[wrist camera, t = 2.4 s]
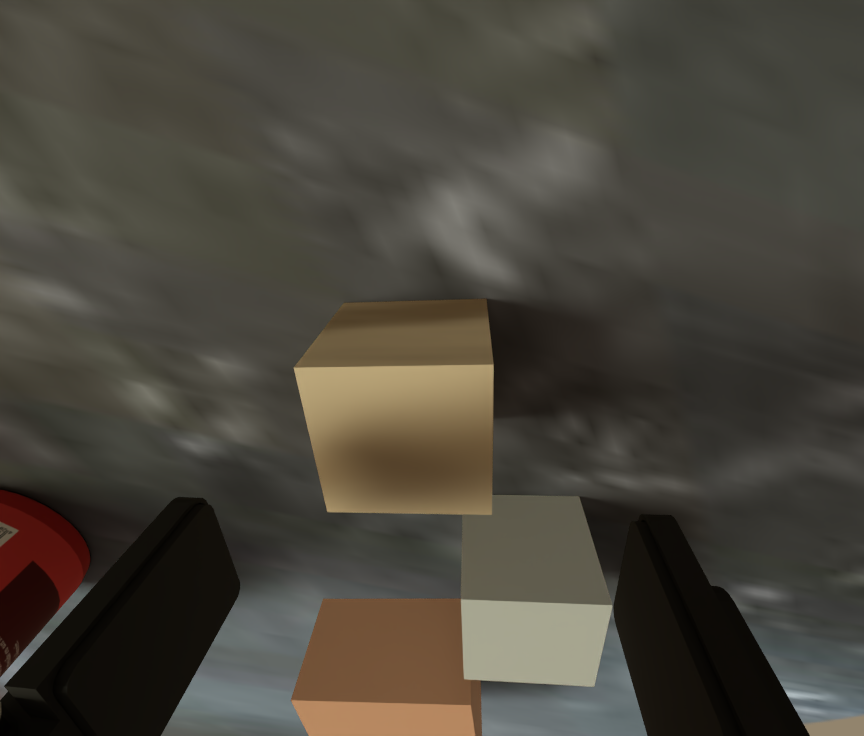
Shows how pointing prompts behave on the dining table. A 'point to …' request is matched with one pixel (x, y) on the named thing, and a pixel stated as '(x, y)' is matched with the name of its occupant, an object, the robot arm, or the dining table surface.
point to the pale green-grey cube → (532, 593)
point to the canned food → (34, 570)
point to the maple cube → (402, 407)
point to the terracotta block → (387, 671)
